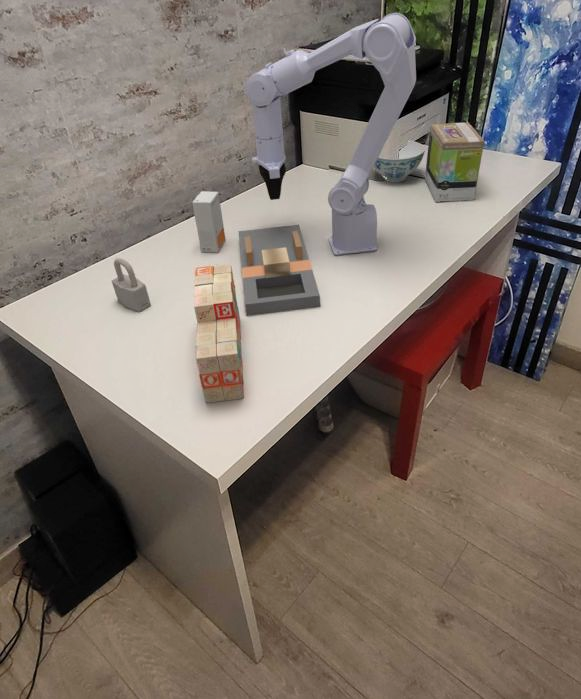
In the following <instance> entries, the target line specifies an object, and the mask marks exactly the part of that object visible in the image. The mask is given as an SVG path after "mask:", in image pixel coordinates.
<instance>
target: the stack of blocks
mask: <svg viewBox="0 0 581 699" xmlns="http://www.w3.org/2000/svg"><path fill="white" fill-rule="evenodd" d="M235 286H236V285H235V280H234V273H233V269H232V264H231V263H223V264H214V265H208V266H200V267H195V268H194V287H193V308H194V313H195V318H196V321H197V323H196V325H197V327H196V335H195V351H196V352H195V353H196V354H195V359H196V360H195V361H196V365H197V370H198V372H199V373H198V377H199V381H200V386H201V388H202V389H201V390H202V394H203V397H204V402H205V404H207V403H215V402H224V401H232V400H239V399H244V398H245V395H244V393H245V392H244V372H243V371H244V367H243V366H244V365H243V358H242V341H241V340H242V335H241V333H242V332H241V329H242V328H241V326H242V325H241V317H240V312H239V311H240V310H239V306H238V301H237V300H238V299H237V294H236V287H235Z"/></svg>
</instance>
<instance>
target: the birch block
mask: <svg viewBox="0 0 581 699" xmlns="http://www.w3.org/2000/svg"><path fill="white" fill-rule="evenodd" d="M262 258H263V266H264V272H265V278H271V277H280V276H288V275H290V263H289V258H288V254H287V249H286V247H284V248H276V249H267V250H262Z"/></svg>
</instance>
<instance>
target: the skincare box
mask: <svg viewBox="0 0 581 699" xmlns="http://www.w3.org/2000/svg"><path fill="white" fill-rule="evenodd" d="M219 194H220V193H219V191H205V190H204V191H200V192H199V193H198V194H197V195H196V197H195V198H194V199H193V201H192V210H193V214H194V218H195V224H196V225H195V226H196V229H197V230H196V231H197V235H198V241H199V248H200V251H201V252H202V253H219V252H220V250H221V249H222V247H223V245H224V243H225V242H226V240H227V239H226V233H225V227H224V221H223V214H222V212H223V211H222V207H221V201H220V200H221V199H220V195H219Z"/></svg>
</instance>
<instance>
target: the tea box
mask: <svg viewBox="0 0 581 699" xmlns="http://www.w3.org/2000/svg"><path fill="white" fill-rule="evenodd" d="M484 146H485V140H484V138H482V136H481V135H480V133H478V132H477V130H476V129H475V128H474V127H473V126H472V125H471V123H470V122H451V123H448V122H447V123H436V124H435V123H434V124H433V123H432V124H430V129H429V136H428V148H427V154H426V155H427V156H426V165H425V172H424V173H425V174H424V175H425V176H424V180H426V181H425V182H427V183H426V184H427V187H428V189H429V191H430V193H431V196H432V197H433V200H434V201H435V203H438V202H439V203H441V202H440V201H449V202H458V201H457V200H468V201H474V200H475V198H476V197H475V196H476V192H477V191H476V190H477V186H478V180H479V175H480V174H479V173H480V169H481V168H480V167H481V163H482V157H483V152H484Z"/></svg>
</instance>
